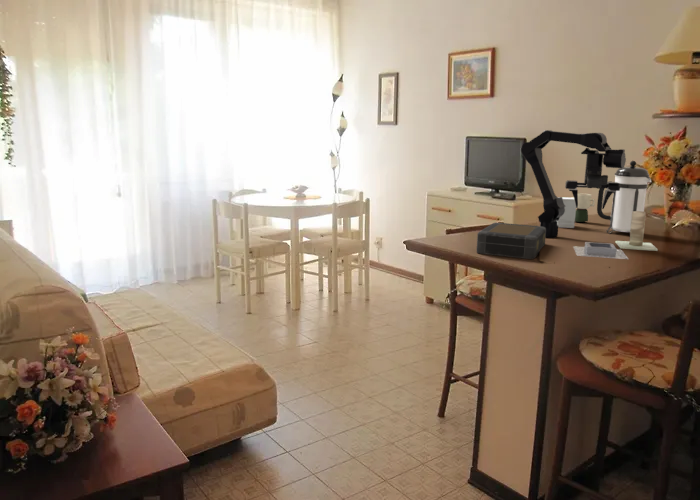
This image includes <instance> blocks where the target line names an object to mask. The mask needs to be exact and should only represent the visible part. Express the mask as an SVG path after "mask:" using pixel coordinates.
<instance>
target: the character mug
mask: <svg viewBox="0 0 700 500" xmlns="http://www.w3.org/2000/svg"><path fill="white" fill-rule="evenodd" d="M592 196H593V195H592V194H591V193H590V194H589V193H583V192H582V193H579V192H578V208H576V214H575V222H576V223H582V222H583V223H585V222H589V211H588V209H590V207H594V206H595V203H596V200H595V199H594V198H592ZM570 198H574V196H571V197H570Z"/></svg>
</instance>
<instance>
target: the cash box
mask: <svg viewBox="0 0 700 500" xmlns="http://www.w3.org/2000/svg"><path fill="white" fill-rule="evenodd" d="M476 238H477V239H476V253H477V254H480V255H489V256H498V257H507V258H516V259H525V260H534V259H536V257H537V256H538V255H539V254H540V251H541V250H542V249H543V247H544V246H545V245H546V238H547V237H546V228H545V227H542V226H540V225H530V224H529V225H528V224H517V223H506V222H493V223H491V224H490V225H488V226H486V227H485V228H483V229H482V230H480V231H478V232H477V236H476Z"/></svg>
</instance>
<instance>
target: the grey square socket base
mask: <svg viewBox="0 0 700 500" xmlns="http://www.w3.org/2000/svg"><path fill="white" fill-rule="evenodd" d="M572 248H573V250H574V253H575V255H576V256H578V257H579V256H580V257H590V258H591V257H593V258H605V259H607V258H608V259H619V260H629V257H628V256H627V255H626V253H625V252H624V251H623V250H622V248H619V249H618V248H616V246H615V245H614V243H609V242H608V243H607V242H592V241H585V242H584V246H574V245H573V246H572Z"/></svg>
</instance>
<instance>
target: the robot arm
mask: <svg viewBox="0 0 700 500" xmlns="http://www.w3.org/2000/svg"><path fill="white" fill-rule="evenodd" d="M550 142H557V143H559V142H561V143H568V144H569V143H570V144H577V145H580V146H583V147H586V148H585V149H584V150H583V151H581V152H580V154H581V155H586V162H585V169H584V170H585V171H584V180H583V181H584V182H578V180H574V179H573V180H570V179H569V180H566V181H565V185H564V188H565V189H566V190H567V189H568V191H569V192H571V194H572V197H574V200H575V204H576V209H577V208H578V194H579V192H578V191H579V190H578V188H587V189H596V190H597V189H598V190H599V189H600V188H605V189H604V193H603V202H602V210H604V209H605V207H606V204H607V203H608V200H609V198H610V197H611V196H612V194H614V193H615V191H620V184H619V183H618V182H615V181H612V182H609V181H608V180H609V179H608V178H609V176H608V175H607V174H603V175H602V173H603V172H602V171H603V165H604V166H605V167H606V168H609V169H610V168H611V169H619V168H624V167H626V166H625V165H626V162H627V161H626V160H627V158H626V153H625V152H626V149H623V148H621V149H620V148H619V149H612V148H611V146H610V145H609V143H608V140H607V136H606V135H605V134H604V133H602V132H589V133H575V132H563V131H556V130H555V131H554V130H552V129H548V130H546V129H545V130H543V132H541V133H540V134H539V135H537V136H535V137H534V138H532V139H531V140H530V141H526V142H524V143H523V144H522V146H521V147H520V152H521V154H522V156H523V157H524V159H525V160H526V162H527V163H528V164H529V166H530V167H531V169H532V172H533V175H534V178H535V180H536V183H537V185H538V188H539V191H540V194H541V196H542V201H543V203H542V204H543V206H542V208H543V212H541V214H540V215H538V216H537V218H538V219H537V220H538V222H540V223H539V226H542V227H545V228H546V237H545V238H549V239H551V238H552V239H557V236H558V235H559V227H558V225H557V221H558V220H559V218H560V217H561V216H562V215H563V214H564V212H565V208H564V207H566V206H565V205H564V203H563V199H562V196H560V198H558V197H559V196H557V195H556V194H555V191H554V188H553V186H552V182H551V181H550V178H549V176H548V173H547V171H546V168H545V167H546V166H544V163H543V151H542V150H543V149H544V148H546V146H547V145H548V144H549V143H550Z"/></svg>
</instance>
